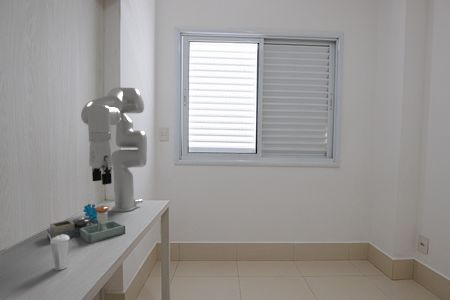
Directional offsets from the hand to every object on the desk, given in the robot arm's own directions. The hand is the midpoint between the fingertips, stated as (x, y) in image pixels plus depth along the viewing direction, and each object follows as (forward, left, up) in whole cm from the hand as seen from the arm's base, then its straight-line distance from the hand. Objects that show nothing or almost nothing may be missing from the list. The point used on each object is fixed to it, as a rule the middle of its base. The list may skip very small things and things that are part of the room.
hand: (101, 182), depth 94 cm
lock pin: (0, 0, -20) cm, 20 cm away
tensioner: (+8, -9, -20) cm, 24 cm away
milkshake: (+18, +18, -20) cm, 33 cm away
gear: (-4, -21, -21) cm, 29 cm away
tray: (0, +1, -20) cm, 20 cm away
